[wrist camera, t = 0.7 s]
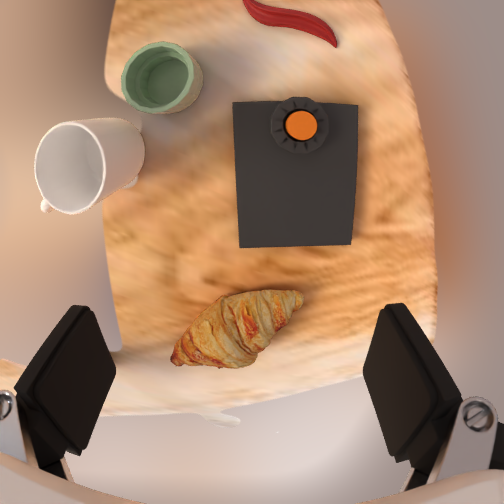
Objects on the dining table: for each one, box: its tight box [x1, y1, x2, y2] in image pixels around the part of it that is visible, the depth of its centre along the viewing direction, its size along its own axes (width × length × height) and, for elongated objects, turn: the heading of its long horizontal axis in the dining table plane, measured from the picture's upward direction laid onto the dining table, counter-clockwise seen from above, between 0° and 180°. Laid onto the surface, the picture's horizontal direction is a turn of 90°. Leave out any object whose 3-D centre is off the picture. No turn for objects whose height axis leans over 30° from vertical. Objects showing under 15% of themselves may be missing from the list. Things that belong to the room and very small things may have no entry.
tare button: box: [286, 111, 317, 140], centre depth 26 cm, size 3×3×2 cm
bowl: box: [121, 42, 203, 114], centre depth 24 cm, size 7×7×6 cm
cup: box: [34, 118, 145, 214], centre depth 26 cm, size 8×12×10 cm
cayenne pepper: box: [243, 0, 337, 48], centre depth 23 cm, size 12×5×2 cm, turn 51°
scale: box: [232, 97, 358, 248], centre depth 30 cm, size 16×13×3 cm
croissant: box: [170, 289, 304, 369], centre depth 37 cm, size 21×10×8 cm, turn 124°
